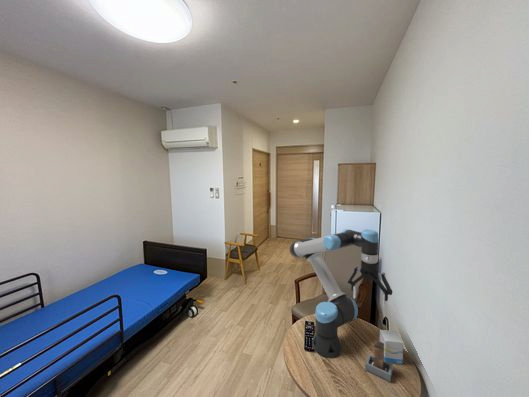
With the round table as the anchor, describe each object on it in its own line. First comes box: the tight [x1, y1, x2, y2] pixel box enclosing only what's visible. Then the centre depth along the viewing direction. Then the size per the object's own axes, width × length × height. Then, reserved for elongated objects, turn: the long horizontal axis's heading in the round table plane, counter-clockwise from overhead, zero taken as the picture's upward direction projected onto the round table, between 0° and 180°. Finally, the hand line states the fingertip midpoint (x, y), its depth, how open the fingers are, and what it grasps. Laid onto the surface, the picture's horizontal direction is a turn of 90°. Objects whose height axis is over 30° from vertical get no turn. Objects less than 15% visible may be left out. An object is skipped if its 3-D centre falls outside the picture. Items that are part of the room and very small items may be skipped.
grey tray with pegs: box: [364, 353, 394, 383], centre depth 102 cm, size 10×7×4 cm
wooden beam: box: [373, 340, 384, 370], centre depth 101 cm, size 4×4×13 cm
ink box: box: [379, 329, 404, 365], centre depth 109 cm, size 8×8×12 cm
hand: (368, 301), depth 107 cm, fingers open, 13 cm apart
